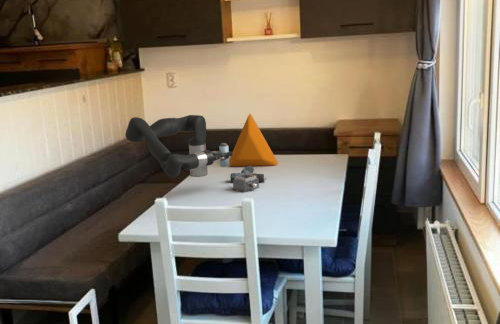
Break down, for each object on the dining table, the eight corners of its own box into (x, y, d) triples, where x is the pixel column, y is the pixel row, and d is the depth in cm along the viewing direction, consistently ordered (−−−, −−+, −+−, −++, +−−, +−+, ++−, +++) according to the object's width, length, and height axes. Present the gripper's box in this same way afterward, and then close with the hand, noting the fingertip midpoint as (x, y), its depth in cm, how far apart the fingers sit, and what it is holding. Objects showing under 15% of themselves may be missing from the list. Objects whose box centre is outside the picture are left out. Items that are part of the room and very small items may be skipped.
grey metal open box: (233, 189, 275) (232, 177, 273) (247, 185, 282) (246, 172, 280) (249, 193, 267) (248, 180, 266) (263, 188, 274) (262, 175, 272)
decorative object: (225, 168, 320) (221, 117, 314) (229, 162, 335) (226, 113, 329) (276, 167, 316) (274, 115, 309) (278, 161, 331) (276, 111, 324)
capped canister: (218, 166, 275) (217, 143, 273) (225, 164, 278) (224, 142, 276) (224, 167, 272) (223, 144, 269) (231, 165, 275) (230, 143, 273)
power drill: (272, 174, 302) (265, 184, 283) (239, 174, 307) (230, 184, 288) (272, 164, 301) (265, 174, 282) (239, 164, 305) (229, 174, 286)
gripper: (211, 153, 258) (237, 147, 270) (191, 149, 268) (218, 144, 280) (212, 168, 260) (238, 162, 271) (192, 164, 270) (219, 158, 282)
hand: (228, 152), depth 276 cm, fingers closed on capped canister, 4 cm apart
